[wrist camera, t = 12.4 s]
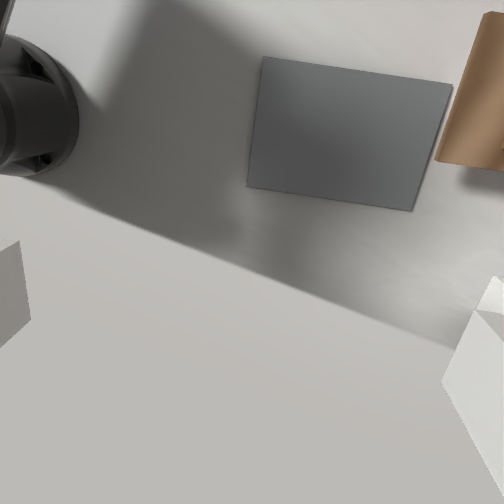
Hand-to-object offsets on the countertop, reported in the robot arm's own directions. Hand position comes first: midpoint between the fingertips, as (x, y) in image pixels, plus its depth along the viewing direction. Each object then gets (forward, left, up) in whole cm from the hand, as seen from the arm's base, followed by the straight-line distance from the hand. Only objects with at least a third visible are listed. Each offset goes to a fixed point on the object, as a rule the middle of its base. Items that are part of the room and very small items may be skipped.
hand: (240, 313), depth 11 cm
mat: (+8, +2, -35) cm, 36 cm away
